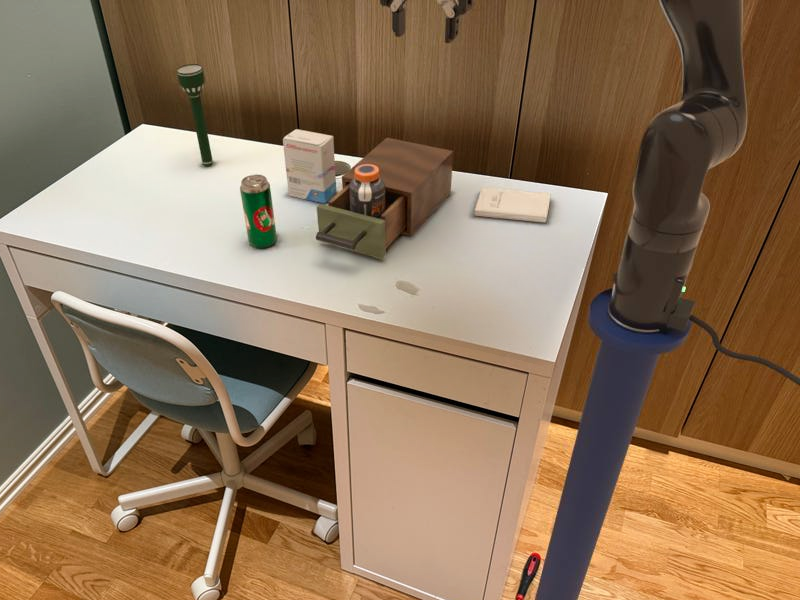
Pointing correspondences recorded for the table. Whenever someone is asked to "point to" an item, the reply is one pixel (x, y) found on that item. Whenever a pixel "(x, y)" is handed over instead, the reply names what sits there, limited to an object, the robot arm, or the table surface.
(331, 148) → the ink box
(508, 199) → the hard drive
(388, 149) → the cabinet
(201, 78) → the flashlight
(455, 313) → the table surface
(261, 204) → the soda can
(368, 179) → the pill bottle
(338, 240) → the drawer
